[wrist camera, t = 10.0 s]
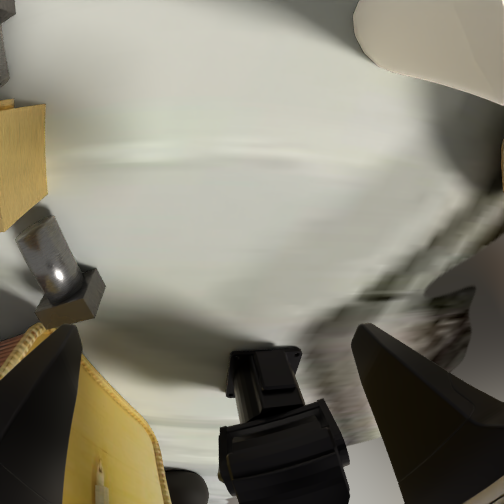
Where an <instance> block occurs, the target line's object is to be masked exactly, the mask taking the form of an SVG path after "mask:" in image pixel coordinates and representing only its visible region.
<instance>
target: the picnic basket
mask: <svg viewBox="0 0 504 504" xmlns="http://www.w3.org/2000/svg"><path fill="white" fill-rule="evenodd" d="M56 329H57V328H52V329H48V330H46V329H45V327H44V326H43V324H42V323H36V324H34V325H33V326H31V327H30V328H29V329H28V330H27V331H26V333H25V334H22V335H19V336H16V337H13V338H10V339H7V340H4V341H1V342H0V380H1V379H2V378H3V377H4V376H5V375H6V374H7V373H8V372H9V371H10V370H11V369H13V368H14V367H15V366H16V365H17V364H18V363H19V362H20V361H21V360H22V359H23V358H24V357H26V356H27V355H28V354H29V353H30V352H31V351H32V350H33V349H34V348H36V347H37V346H38V345H39V344H40V343H41V342H42V341H44V340H45V339H46V338H47V337H48V336H49V335H50V334H52V333H53V332H54V331H55V330H56ZM62 504H172V503H171V499H170V495H169V490H168V486H167V481H166V476H165V471H164V466H163V461H162V456H161V451H160V447H159V444H158V441H157V439H156V437H155V435H154V432H153V431H152V429H151V428H150V426H149V425H148V423H147V422H146V421H145V419H144V418H143V417H142V416H141V415H140V414H139V413H138V412H137V411H136V410H135V409H134V408H133V407H132V406H131V405H130V404H129V403H128V402H127V401H126V400H125V399H124V398H123V397H122V396H121V395H120V394H119V393H118V392H117V391H116V390H115V389H114V388H113V387H112V386H111V385H110V384H109V383H108V382H107V381H106V380H105V379H104V378H103V377H102V376H101V374H100V373H99V372H98V371H97V370H96V369H95V368H94V367H93V366H92V364H91V363H90V362H89V361H88V360H87V359H86V358H85V356H84V355H83V354H82V356H81V364H80V373H79V382H78V392H77V398H76V403H75V409H74V414H73V419H72V425H71V431H70V437H69V444H68V451H67V459H66V467H65V477H64V487H63V501H62Z"/></svg>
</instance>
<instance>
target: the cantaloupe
mask: <svg viewBox="0 0 504 504" xmlns="http://www.w3.org/2000/svg"><path fill="white" fill-rule="evenodd" d="M501 169H502V183H503V192H504V139H503V142H502V147H501Z"/></svg>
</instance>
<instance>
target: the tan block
mask: <svg viewBox="0 0 504 504" xmlns="http://www.w3.org/2000/svg"><path fill="white" fill-rule="evenodd" d="M45 107H46V104H41V105H34V106H27V107H20V108H14V99H6V100H0V232H5V231H6V230H7V229H8V228H9V227H10V226H12V225H13V224H14V223H15V222H16V221H17V220H18V219H19V218H20V217H22V216H23V215H24V214H25V213H26V212H27V211H28V210H29V209H31V208H32V207H33V206H34V205H35V204H37V203H38V202H39V201H40V200H41V199H43V198H44V197H45V196H46V195H47V194H48V191H47V178H46V159H45Z"/></svg>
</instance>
